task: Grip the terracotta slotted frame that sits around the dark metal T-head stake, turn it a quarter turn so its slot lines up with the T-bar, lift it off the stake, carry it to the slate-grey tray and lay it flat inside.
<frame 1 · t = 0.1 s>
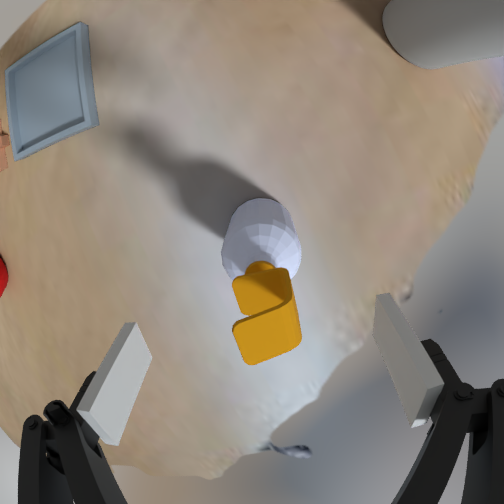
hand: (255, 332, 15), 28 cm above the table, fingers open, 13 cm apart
tomato: (0, 266, 47), on the table
tray: (49, 93, 34), on the table
soap bottle: (261, 227, 43), on the table
cylinder vase: (416, 33, 29), on the table
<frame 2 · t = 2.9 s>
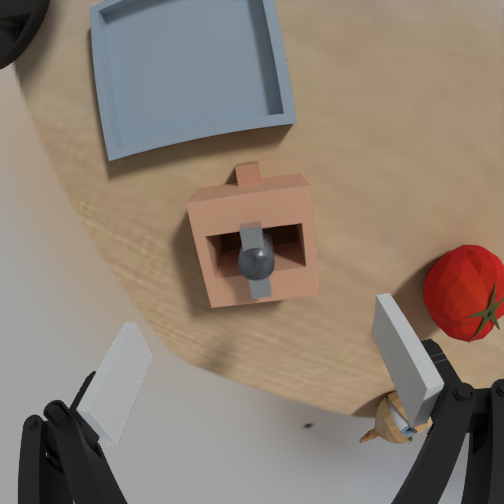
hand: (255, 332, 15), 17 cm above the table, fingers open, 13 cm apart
stake: (257, 228, 30), on the table
tomato: (450, 271, 32), on the table
onion: (389, 398, 42), on the table
ring frame: (257, 228, 30), on the table
tray: (186, 53, 23), on the table
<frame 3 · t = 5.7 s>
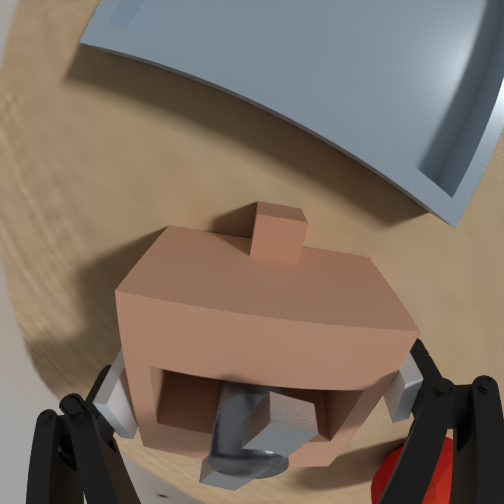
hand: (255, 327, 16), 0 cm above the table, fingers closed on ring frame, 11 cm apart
stake: (254, 326, 16), on the table
tomato: (413, 447, 23), on the table
ring frame: (255, 326, 16), on the table, touching gripper
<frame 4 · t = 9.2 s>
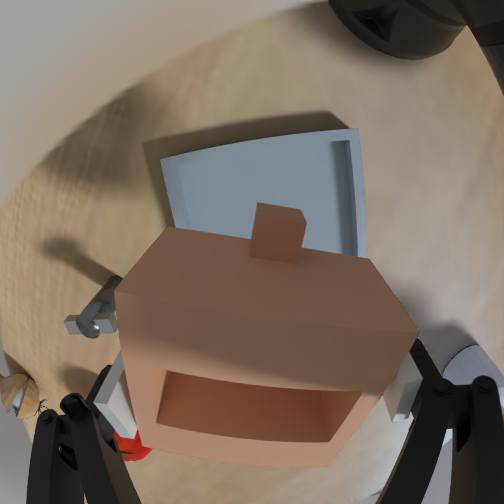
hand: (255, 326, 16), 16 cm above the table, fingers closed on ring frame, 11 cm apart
stake: (118, 286, 33), on the table
tomato: (131, 409, 43), on the table
onion: (27, 377, 42), on the table
ring frame: (254, 326, 16), point 15 cm above the table, touching gripper
tray: (273, 228, 30), on the table
soap bottle: (461, 363, 39), on the table
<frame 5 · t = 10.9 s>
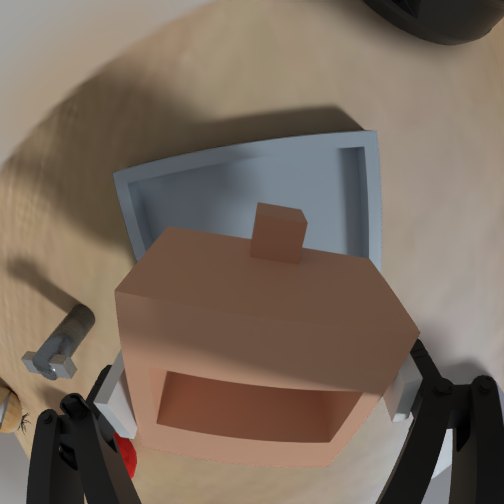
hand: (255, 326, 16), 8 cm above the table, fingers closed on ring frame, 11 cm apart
stake: (84, 315, 27), on the table
tomato: (113, 433, 37), on the table
onion: (9, 390, 37), on the table
ring frame: (255, 326, 16), point 8 cm above the table, touching gripper
tray: (260, 258, 23), on the table
when the fingers open (3 cm above the table, at t = 12.5 s): ring frame drops 2 cm, resting on tray.
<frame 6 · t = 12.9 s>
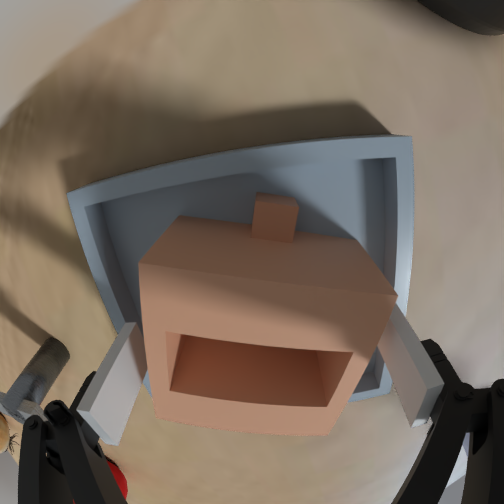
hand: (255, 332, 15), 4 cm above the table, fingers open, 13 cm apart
stake: (57, 349, 22), on the table
tomato: (102, 459, 32), on the table
ring frame: (257, 304, 18), point 1 cm above the table, touching tray
tray: (256, 297, 18), on the table
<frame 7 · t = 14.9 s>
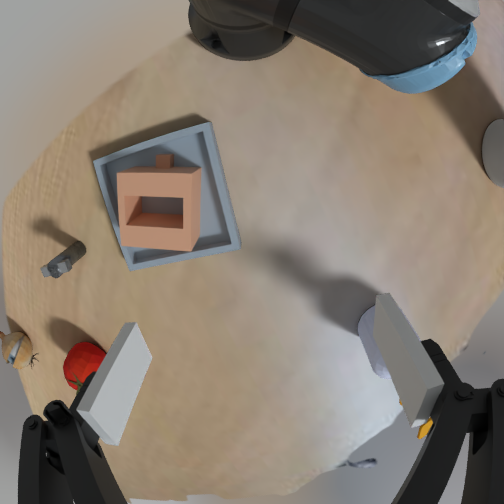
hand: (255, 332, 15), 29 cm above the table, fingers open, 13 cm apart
stake: (79, 248, 45), on the table
tomato: (98, 355, 56), on the table
onion: (24, 336, 56), on the table
ring frame: (166, 200, 41), point 1 cm above the table, touching tray
tray: (167, 198, 42), on the table
soap bottle: (379, 321, 50), on the table
cylinder vase: (501, 152, 36), on the table
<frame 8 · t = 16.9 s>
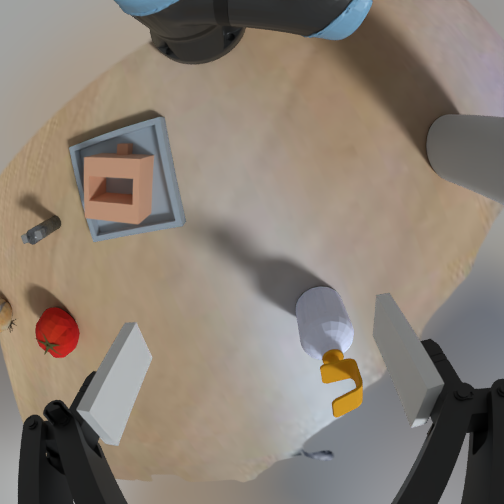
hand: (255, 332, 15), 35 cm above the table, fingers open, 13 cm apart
stake: (56, 222, 50), on the table
tomato: (68, 321, 60), on the table
onion: (6, 303, 60), on the table
ring frame: (125, 182, 46), point 1 cm above the table, touching tray
tray: (126, 181, 47), on the table
soap bottle: (318, 305, 55), on the table
cylinder vase: (450, 147, 42), on the table
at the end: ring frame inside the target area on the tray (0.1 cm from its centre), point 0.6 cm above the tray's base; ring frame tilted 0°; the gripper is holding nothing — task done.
